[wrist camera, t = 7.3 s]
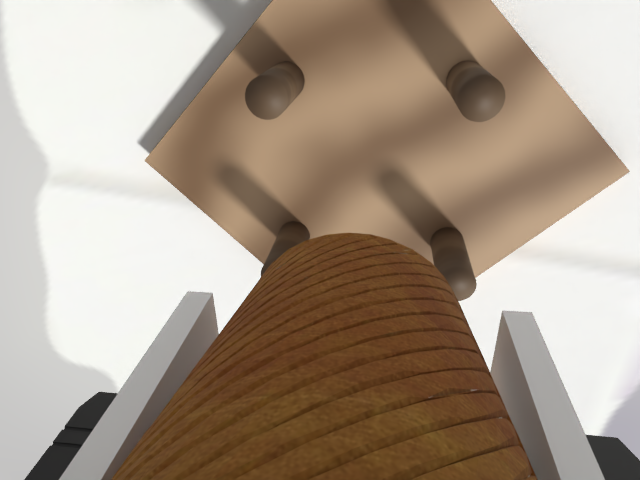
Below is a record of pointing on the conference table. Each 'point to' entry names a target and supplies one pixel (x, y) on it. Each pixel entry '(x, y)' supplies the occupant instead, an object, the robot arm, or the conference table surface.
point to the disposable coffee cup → (338, 380)
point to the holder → (386, 134)
